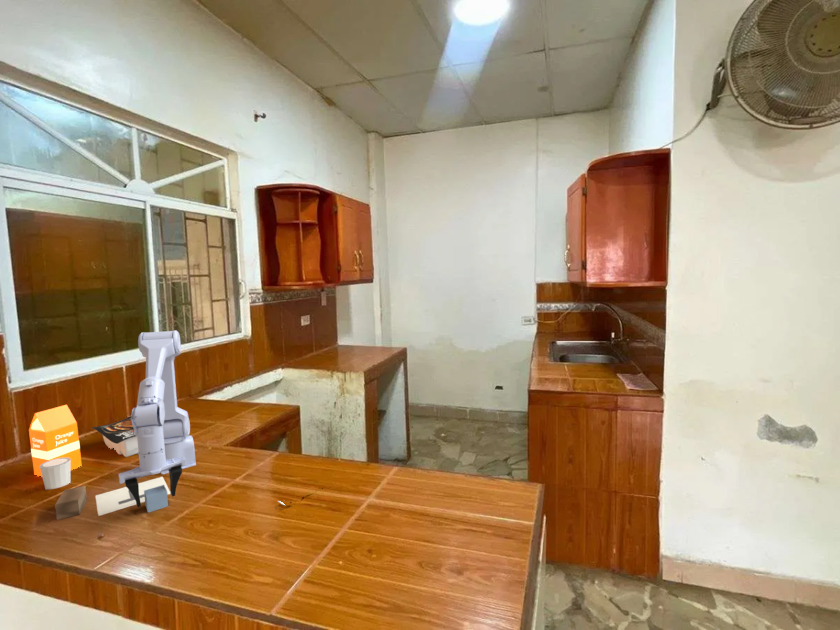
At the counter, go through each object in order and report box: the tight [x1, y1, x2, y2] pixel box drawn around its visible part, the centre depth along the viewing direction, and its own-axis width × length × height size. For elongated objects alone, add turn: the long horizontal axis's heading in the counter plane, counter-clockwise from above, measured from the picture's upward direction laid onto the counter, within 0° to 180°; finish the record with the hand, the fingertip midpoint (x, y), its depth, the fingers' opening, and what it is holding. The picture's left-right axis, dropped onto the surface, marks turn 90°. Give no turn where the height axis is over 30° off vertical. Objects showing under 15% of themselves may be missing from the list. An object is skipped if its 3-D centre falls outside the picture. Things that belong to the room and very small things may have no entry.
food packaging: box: [91, 415, 139, 458], centre depth 153 cm, size 25×8×23 cm
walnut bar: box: [54, 485, 88, 521], centre depth 109 cm, size 4×8×4 cm, turn 28°
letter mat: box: [95, 476, 171, 517], centre depth 116 cm, size 16×13×1 cm
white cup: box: [40, 457, 72, 491], centre depth 123 cm, size 7×7×7 cm
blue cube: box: [144, 485, 169, 514], centre depth 110 cm, size 4×4×4 cm
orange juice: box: [28, 404, 83, 478], centre depth 131 cm, size 8×9×20 cm
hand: (156, 499), depth 110 cm, fingers open, 7 cm apart
